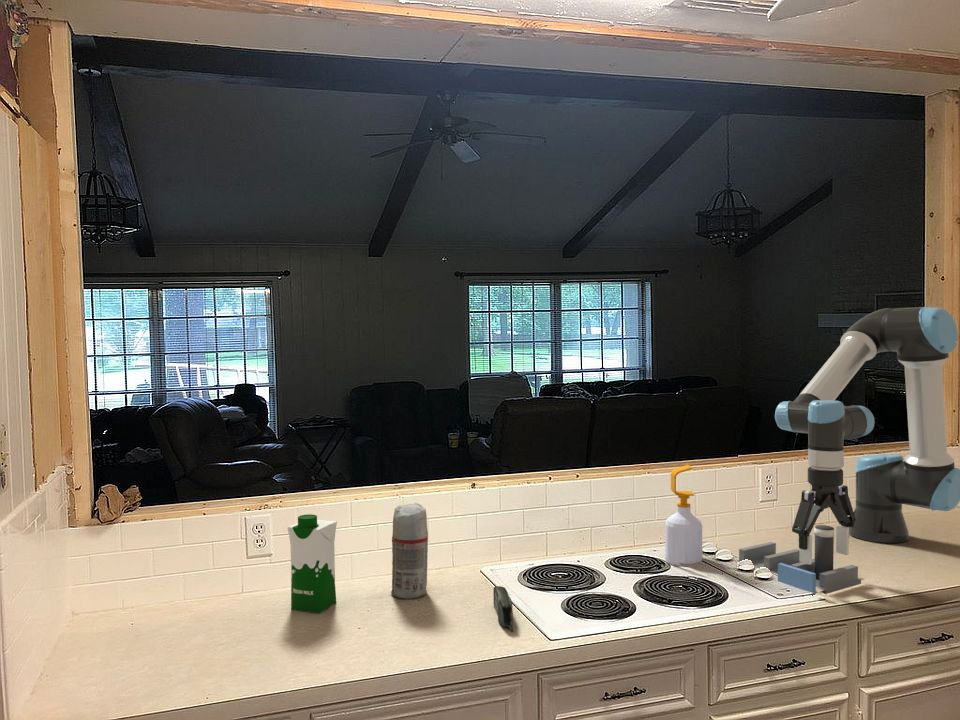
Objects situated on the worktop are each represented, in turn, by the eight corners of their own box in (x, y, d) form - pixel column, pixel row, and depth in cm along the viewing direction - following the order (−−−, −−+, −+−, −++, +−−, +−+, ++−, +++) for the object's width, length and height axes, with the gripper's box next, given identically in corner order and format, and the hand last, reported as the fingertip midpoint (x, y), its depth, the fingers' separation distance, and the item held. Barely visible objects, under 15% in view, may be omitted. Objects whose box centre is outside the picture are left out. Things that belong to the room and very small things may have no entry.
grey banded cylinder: (821, 574, 180) (821, 524, 180) (837, 579, 177) (838, 528, 176) (809, 577, 178) (810, 526, 178) (826, 582, 174) (826, 530, 174)
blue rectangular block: (780, 584, 176) (781, 562, 176) (815, 595, 169) (815, 573, 169) (777, 585, 176) (777, 563, 176) (812, 596, 168) (812, 574, 168)
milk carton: (284, 610, 162) (283, 517, 161) (307, 596, 171) (306, 508, 170) (321, 615, 159) (319, 520, 158) (342, 601, 168) (341, 510, 167)
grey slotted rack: (770, 556, 198) (770, 541, 198) (861, 583, 176) (861, 566, 176) (736, 564, 191) (736, 548, 191) (825, 594, 170) (826, 576, 170)
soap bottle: (706, 567, 189) (706, 469, 188) (669, 567, 189) (669, 469, 188) (696, 556, 198) (697, 462, 197) (661, 556, 198) (661, 462, 197)
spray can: (435, 590, 174) (434, 503, 173) (417, 602, 167) (416, 511, 166) (403, 585, 178) (402, 500, 177) (384, 596, 170) (383, 507, 169)
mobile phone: (491, 584, 164) (501, 607, 149) (505, 583, 165) (517, 607, 150) (491, 607, 164) (502, 633, 149) (505, 606, 165) (517, 632, 150)
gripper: (843, 459, 186) (842, 546, 187) (776, 470, 173) (775, 562, 174) (872, 464, 179) (871, 553, 180) (805, 475, 167) (804, 571, 168)
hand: (824, 558), depth 177 cm, fingers open, 13 cm apart
